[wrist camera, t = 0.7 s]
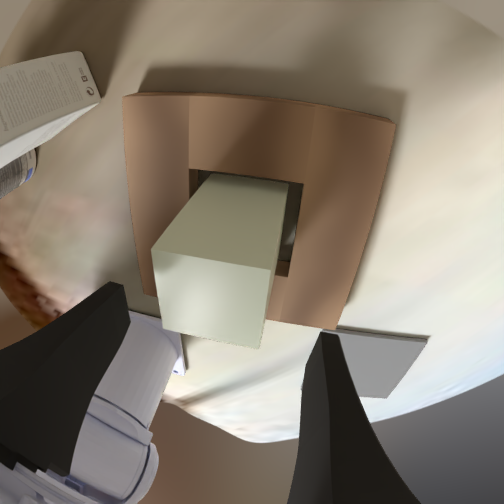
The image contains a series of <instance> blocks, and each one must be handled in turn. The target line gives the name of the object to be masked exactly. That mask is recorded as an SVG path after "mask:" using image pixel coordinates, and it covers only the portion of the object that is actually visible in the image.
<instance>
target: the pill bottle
mask: <svg viewBox="0 0 504 504" xmlns="http://www.w3.org/2000/svg"><path fill="white" fill-rule="evenodd" d="M35 167H36V154H35V150H34V149H32V150H30V151H28V152H26V153H25V154H23V155H21V156H20V157H18V158H16V159H15V160H13V161H11V162H10V163H8V164H7V165H5V166H3V167H2V168H0V199H1V198H2V197H4V196H5V195H6V194H8V193H9V192H11V191H12V190H14V189H15V188H17V187H18V186H20V185H21V184H23V183H24V182H26V181H27V180H29V179H30V178H31V177H32V175H33V174H34V171H35Z"/></svg>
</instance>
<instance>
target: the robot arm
mask: <svg viewBox="0 0 504 504" xmlns="http://www.w3.org/2000/svg"><path fill="white" fill-rule="evenodd" d="M171 373H174V374H178V375H182V376H183V375H185V373H186V368H185V362H184V355H183V348H182V341H181V334H180V333H179V332H175V331H171V330H167V329H163V324H162V319H160V318H156V317H152V316H148V315H144V314H140V313H136V312H132V311H129V310H128V306H127V301H126V296H125V291H124V286H123V285H121V284H117V283H114V282H111V281H110V282H108V283H107V284H105V285H104V286H102V287H101V288H99V289H98V290H97V291H95V292H94V293H92V294H91V295H90V296H88V297H87V298H86V299H84V300H83V301H81V302H80V303H79V304H77V305H76V306H74V307H73V308H72V309H70V310H69V311H67V312H66V313H65V314H63V315H62V316H60V317H59V318H57V319H56V320H54V321H52V322H51V323H49V324H48V325H46V326H45V327H43V328H42V329H40V330H38V331H37V332H35V333H33V334H32V335H30V336H28V337H26V338H24V339H23V340H21V341H19V342H16V343H14V344H12V345H10V346H8V347H6V348H4V349H1V350H0V504H137V503H138V501H140V500H141V499H142V498H143V497H144V496H145V494H146V493H147V492H148V490H149V489H150V487H151V485H152V483H153V480H154V478H155V475H156V472H157V468H158V460H159V458H158V454H157V450H156V447H155V445H154V444H153V443H151V442H150V441H151V438H152V436H153V433H151V432H149V431H148V429H149V426H150V424H151V422H152V419H153V417H154V414H155V412H156V409H157V407H158V404H159V402H160V400H161V397H162V395H163V392H164V390H165V387H166V385H167V383H168V380H169V378H170V375H171ZM287 504H421V503H420V502H419V501H418V499H416V497H415V496H414V494H412V492H411V491H410V490H409V488H408V486H407V485H406V484H405V483H404V481H403V480H402V478H401V477H400V475H399V474H398V472H397V471H396V469H395V467H394V466H393V464H392V463H391V461H390V459H389V458H388V456H387V455H386V454H385V451H384V449H383V448H382V446H381V444H380V442H379V440H378V438H377V436H376V434H375V433H374V431H373V429H372V427H371V424H370V422H369V420H368V418H367V416H366V413H365V411H364V408H363V406H362V404H361V401H360V399H359V396H358V394H357V391H356V388H355V385H354V383H353V380H352V377H351V374H350V371H349V368H348V365H347V362H346V359H345V355H344V352H343V348H342V345H341V341H340V337H339V336H338V334H332V333H327V332H320V334H319V336H318V339H317V341H316V343H315V346H314V348H313V350H312V352H311V355H310V357H309V359H308V361H307V363H306V367H305V373H304V380H303V386H302V397H301V416H300V433H299V447H298V455H297V460H296V465H295V471H294V476H293V480H292V485H291V489H290V494H289V498H288V502H287Z"/></svg>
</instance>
